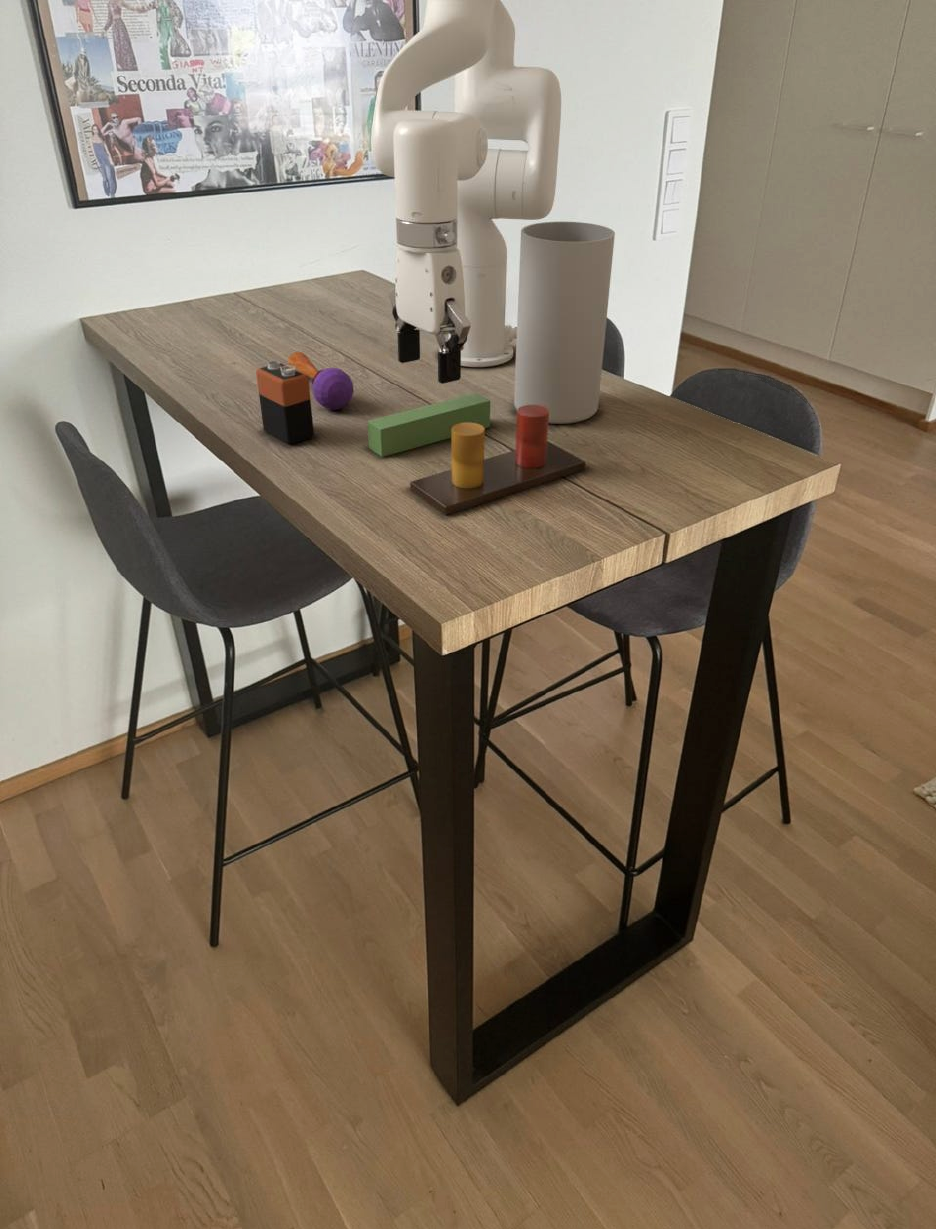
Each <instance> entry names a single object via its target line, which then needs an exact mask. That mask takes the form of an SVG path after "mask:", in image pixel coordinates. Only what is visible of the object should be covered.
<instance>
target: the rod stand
mask: <svg viewBox="0 0 936 1229" xmlns="http://www.w3.org/2000/svg"><path fill="white" fill-rule="evenodd" d="M548 420H549V410H548V409H547V408H545V407H543V406H539V405H525V406H521V407H519V408H518V410H517V409H516V430H515V450H512V451H508V452H504V453H501V454H498V455H495V456H491V457H488V458H485V437H486V436H485V430H486V428H484V427H483V426H482V425H480V424H477V423H470V422H465V423H459V424H456V425H454V426H453V427H452V429H451V438H450V440H451V469H449V470H445V471H441V472H438V473H435V474H432V475H429V476H425V477H422V478H418V479H415V480H411V481H410V483H409V484H410V485H409V488H410V492H412V493H413V494H415V495H417V497H419V498H421V499H422V500H423V501H425V502H426V503H427V504H429V505H430V506H432V508H435V509H436V510H437V511H439V512H440V513H442V514H443V515H444V516H448V515H452V514H454V513H455V514H456V513H457V512H461V511H464V510H467V509H471V508H473V507H476V506H480V505H482V504H485V503H489V502H491V501H494V500H497V499H500V498H503V497H506V496H509V495H513V494H515V493H519V492H521V491H524V490H528V489H531V488H533V487H536V486H539V485H543V484H546V483H549V482H551V481H555V480H557V479H561V478H563V477H567V476H570V475H573V474H576V473H579V472H582V471H584V470H586V461H585V460H583V459H581V458H580V457H578V456H576V455H574V454H572V453H570V452H569V451H567V450H565V449H563V448H561V447H559V446H557V445H556V444H554V443H552V442H550V441H548V436H549V435H548V434H549V423H548Z"/></svg>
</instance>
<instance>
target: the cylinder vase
mask: <svg viewBox="0 0 936 1229" xmlns="http://www.w3.org/2000/svg"><path fill="white" fill-rule="evenodd" d="M615 236H616V232H615V230H613V229H612V228H610V227H607V226H604V225H601V224H595V223H590V222H582V221H581V222H580V221H544V222H536V223H531V224H527V225H525V226H523V227H521V229H520V242H519V243H520V244H519V245H520V246H519V267H518V268H519V270H518V271H519V272H518V294H517V295H518V296H517V318H516V320H517V322H516V327H517V338H516V344H515V367H514V368H515V370H514V372H515V373H514V392H513V394H514V395H513V396H514V397H513V405H514V408H515V409H516V411H517V410H518V408H519V407H521V406H525V405H539V406H543V407H545V408H547V409H548V410H549V420H548V424H553V425H564V424H567V425H568V424H574V423H580V422H582V421H585V420H586V421H587V420H589V418H591V417H593V416H594V415H595V414H596V413H597V411H598V408H599V402H600V391H601V383H602V382H601V381H602V373H603V372H602V370H603V360H604V351H605V350H604V349H605V342H606V340H605V339H606V328H607V321H608V320H607V319H608V318H607V317H608V307H609V300H610V287H611V280H612V268H613V258H614V257H613V256H614V247H615V246H614V245H615Z"/></svg>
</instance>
